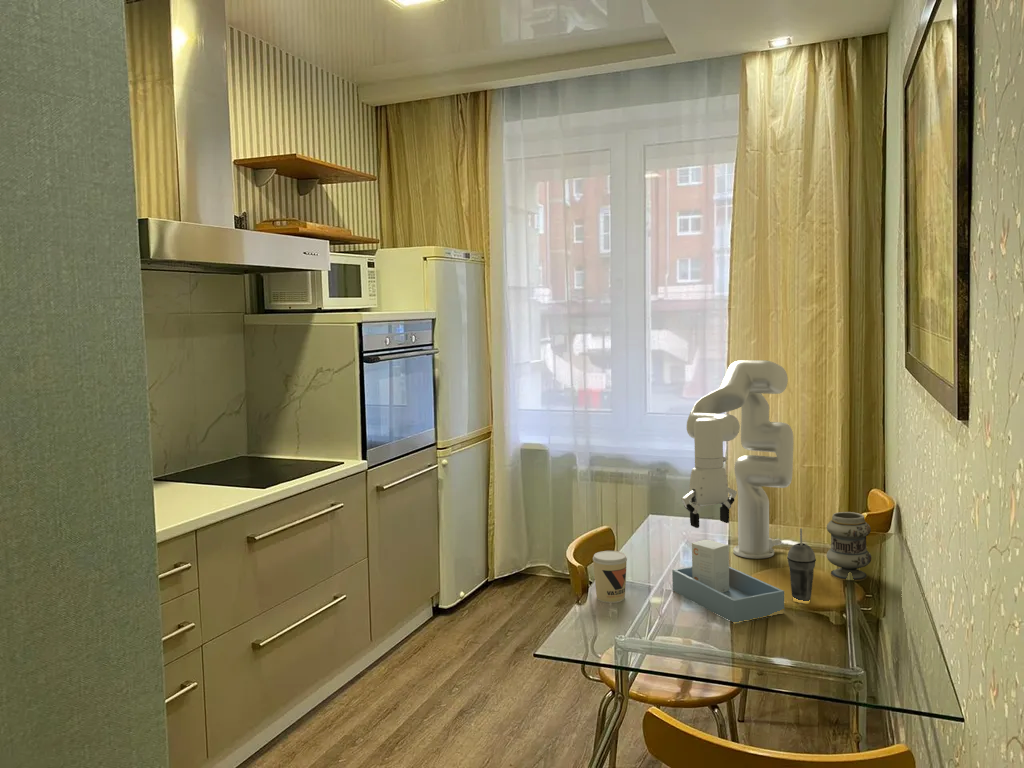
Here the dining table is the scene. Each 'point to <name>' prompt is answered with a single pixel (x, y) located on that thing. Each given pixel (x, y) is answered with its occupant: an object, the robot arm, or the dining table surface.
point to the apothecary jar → (848, 545)
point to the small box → (711, 564)
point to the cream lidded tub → (610, 576)
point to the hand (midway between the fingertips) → (709, 524)
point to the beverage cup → (801, 570)
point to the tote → (731, 595)
